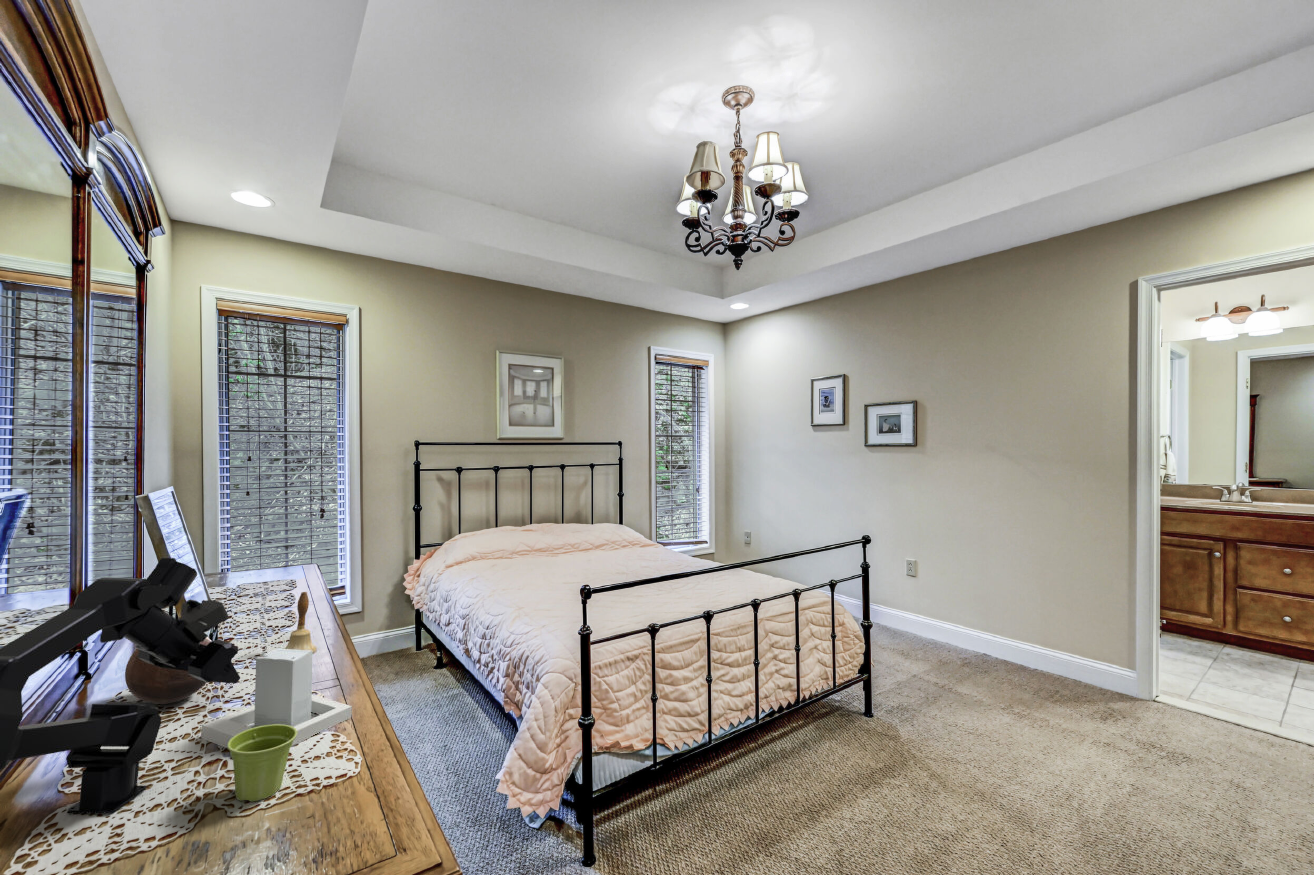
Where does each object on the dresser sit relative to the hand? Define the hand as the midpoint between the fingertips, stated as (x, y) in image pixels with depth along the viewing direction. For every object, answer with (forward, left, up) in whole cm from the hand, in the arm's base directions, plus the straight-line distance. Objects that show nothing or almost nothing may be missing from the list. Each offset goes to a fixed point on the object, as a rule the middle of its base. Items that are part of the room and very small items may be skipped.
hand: (221, 675), depth 104 cm
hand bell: (+51, +13, -14) cm, 54 cm away
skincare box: (+9, -6, -14) cm, 18 cm away
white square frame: (+10, -6, -14) cm, 18 cm away
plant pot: (-12, -15, -14) cm, 24 cm away
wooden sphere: (+20, +23, -14) cm, 33 cm away
